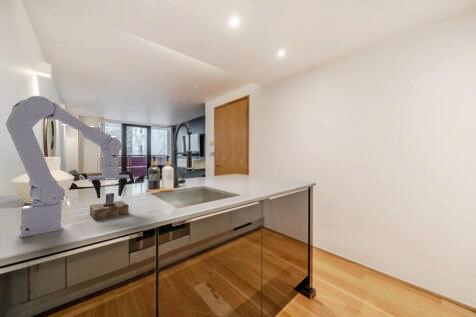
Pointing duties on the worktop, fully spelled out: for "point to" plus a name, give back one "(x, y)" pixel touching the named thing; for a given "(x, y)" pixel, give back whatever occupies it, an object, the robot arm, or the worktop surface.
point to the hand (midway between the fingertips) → (109, 196)
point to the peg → (109, 199)
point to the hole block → (108, 210)
